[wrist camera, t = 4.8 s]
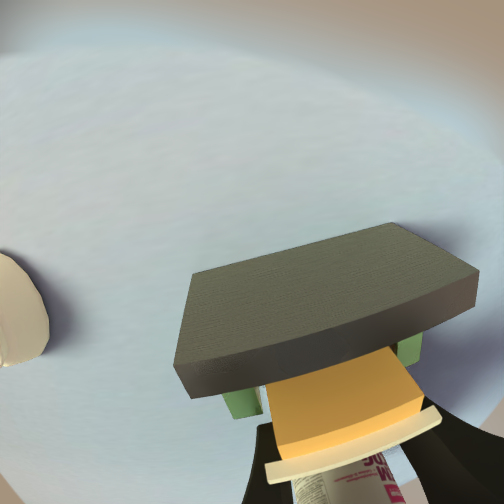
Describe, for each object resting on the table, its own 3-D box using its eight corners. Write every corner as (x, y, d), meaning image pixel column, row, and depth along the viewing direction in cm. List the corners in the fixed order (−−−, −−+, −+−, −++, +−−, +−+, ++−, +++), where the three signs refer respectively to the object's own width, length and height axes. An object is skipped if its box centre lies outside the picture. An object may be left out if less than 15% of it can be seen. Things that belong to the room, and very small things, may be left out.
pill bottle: (383, 413, 13) (445, 532, 5) (341, 459, 15) (379, 565, 7) (309, 411, 12) (358, 568, 4) (272, 460, 14) (296, 586, 6)
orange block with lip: (381, 356, 11) (434, 436, 6) (258, 394, 11) (274, 493, 6) (381, 318, 10) (448, 400, 6) (246, 358, 10) (260, 468, 6)
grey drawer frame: (390, 380, 12) (432, 446, 8) (250, 423, 12) (260, 504, 8) (391, 222, 10) (479, 270, 5) (191, 274, 10) (172, 366, 5)
